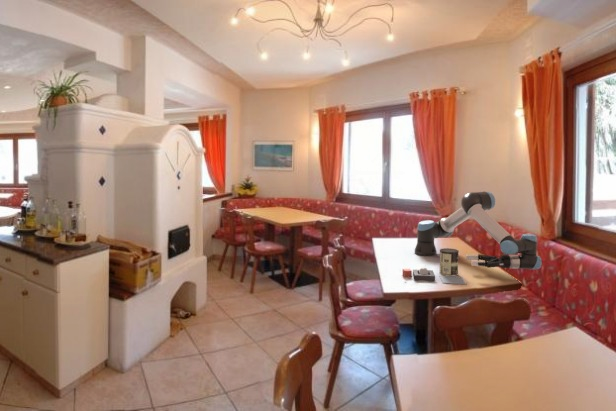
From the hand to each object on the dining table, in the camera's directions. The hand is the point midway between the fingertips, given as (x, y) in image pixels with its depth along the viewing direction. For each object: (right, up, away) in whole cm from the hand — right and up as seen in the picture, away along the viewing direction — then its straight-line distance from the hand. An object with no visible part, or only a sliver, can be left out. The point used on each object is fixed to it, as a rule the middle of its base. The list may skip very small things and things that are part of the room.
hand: (468, 260), depth 205 cm
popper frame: (-27, -10, -4) cm, 29 cm away
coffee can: (-10, -9, +3) cm, 14 cm away
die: (-36, -9, 0) cm, 37 cm away
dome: (-27, -8, -4) cm, 29 cm away
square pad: (-13, -10, -9) cm, 19 cm away
